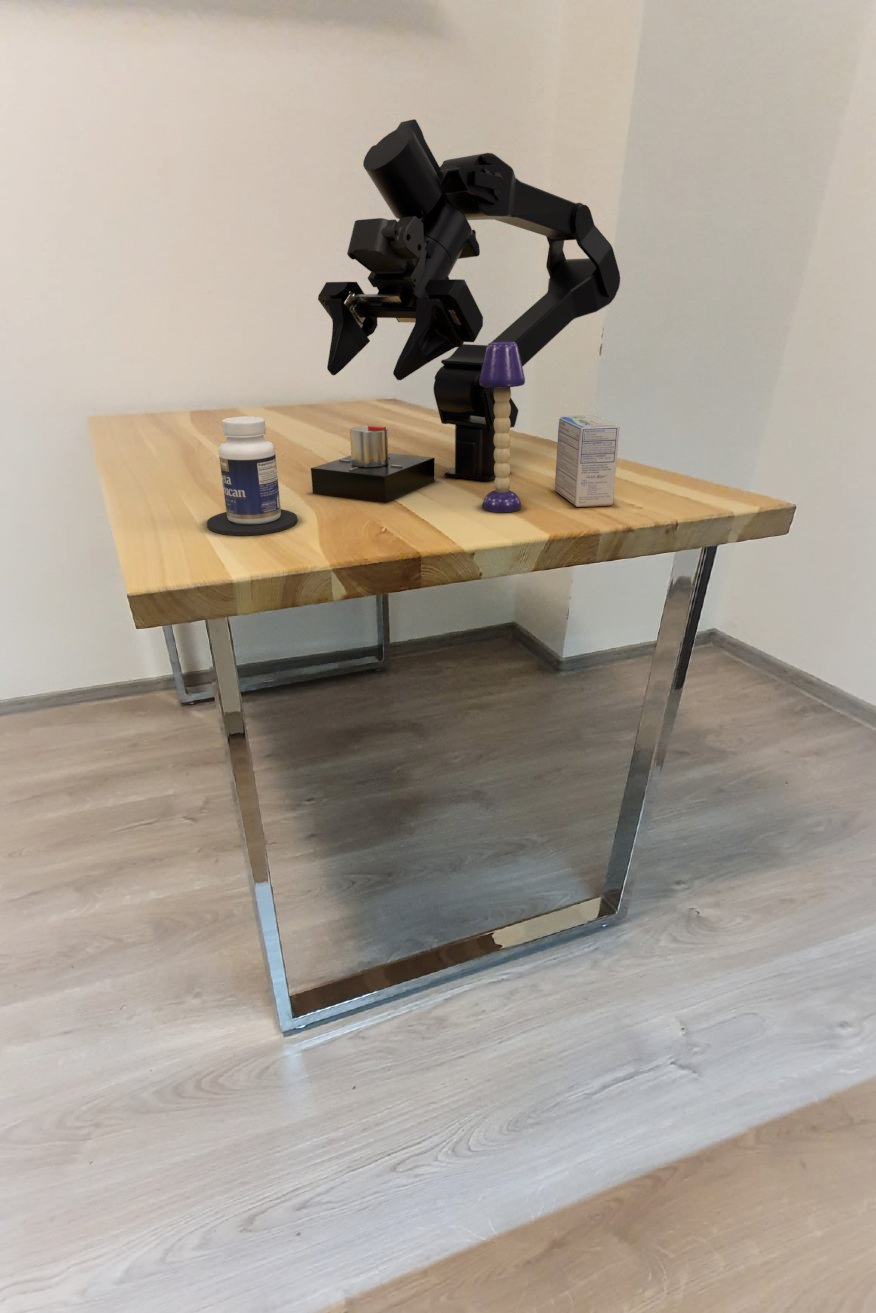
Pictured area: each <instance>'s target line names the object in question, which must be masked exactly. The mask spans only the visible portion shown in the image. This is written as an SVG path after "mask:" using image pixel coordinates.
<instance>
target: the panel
mask: <svg viewBox="0 0 876 1313" xmlns="http://www.w3.org/2000/svg"><path fill="white" fill-rule="evenodd" d="M388 454H389V464H388V465H385V466H381V467H357V466H354V465H352V463H351V455H348V456H345V457H342V458H339V459H335V460H332V461H329V462H326V463H325V462H324V463H323V464H319V465H316V466H313V467H310V473H311V474H310V475H311V477H310V478H311V490H312V495H320V496H328V497H336V498H344V499H349V500H350V499H351V500H359V501H366V502H373V503H374V502H375V503H381V504H387V503H390V502H391V501H394V500H396V499H398V498H401V497H403V496H405V495H408V494H410V493H413V492H414V491H417V490H419V489H422V488H423V487H426V486H429V485H431V484H433V483H435V482H436V480H435V479H436V477H435V476H436V475H435V474H436V473H435V472H436V471H435V470H436V469H435V468H436V467H435V466H436V464H435V462H436V461H435V459H436V458H435V457H431V456H422V455H412V454H402V453H391V452H388Z"/></svg>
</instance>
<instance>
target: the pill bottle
mask: <svg viewBox="0 0 876 1313" xmlns="http://www.w3.org/2000/svg"><path fill="white" fill-rule="evenodd" d="M221 422H222V432H223V436H224V437H226V441H224V442H223V443H221V444H220V445H219V448H218V459H219V465H220V473H221V481H222V488H223V496H224V504H225V512H226V513H227V518H228V520H229V521H231V522H233V523H236V524H243V525H258V524H265V523H269V522H272V521H275V520H277V519H278V518H279V517H280V515H281V509H282V508H281V498H280V486H279V478H278V466H277V454H276V449H275V446H274V444H273V443H272V442H271V441H269V440H268V439H267V440H266V439H265V435H266V434H267V432H266V431H267V430H266V429H267V428H266V421H265V418H264V417H260V416H232V417H226V418H224V419H222V421H221Z"/></svg>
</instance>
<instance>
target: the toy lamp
mask: <svg viewBox="0 0 876 1313" xmlns="http://www.w3.org/2000/svg"><path fill="white" fill-rule="evenodd" d="M491 342H492V341H491ZM491 342H489V343H488V344H486V345H487V348H486V352H485V356H484V361H483V365H482V370H481V374H480V380H479V384H480V386H482V387H487V388H494V399H495V404H494V415H495V419H494V430H495V435H494V445H495V447H496V448H495V450H494V460H495V462H496V463H495V465H494V473H495V476H496V478H495V479H493V486H494V490H492V491H490V492H489V493H487V494H486V496H485V497H484V498H483V501H482V504H481V505H482V506H481V508H482V510H485V511H488V512H491V513H513V512H517V511H519V510H521V508H522V502H521V499H520V497H519V496H518V494H517V493H515V492H514V491H513V490H510V489H511V478H510V475H511V465H510V460H511V450H510V446H511V439H512V438H511V434H510V430H511V428H510V426H511V423H510V419H509V415H510V412H511V406H510V403H509V400H510V398H511V399H512V390H511V388H517V387H521V386H524V385H525V383H526V379H525V378H526V377H525V372H524V368H523V367H522V363H521V359H520V354H519V350H518V346H517V344H516V342H492V343H491Z"/></svg>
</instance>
